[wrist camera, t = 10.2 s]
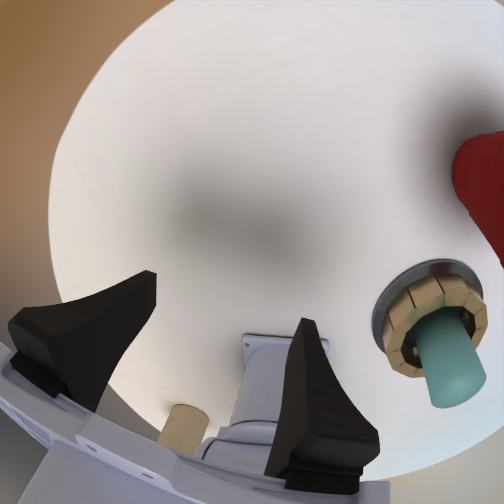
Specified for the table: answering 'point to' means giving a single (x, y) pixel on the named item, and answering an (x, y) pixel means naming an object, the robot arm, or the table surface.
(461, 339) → the peg
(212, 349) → the table surface
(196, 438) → the candle
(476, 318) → the ring holder
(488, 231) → the plastic cup
